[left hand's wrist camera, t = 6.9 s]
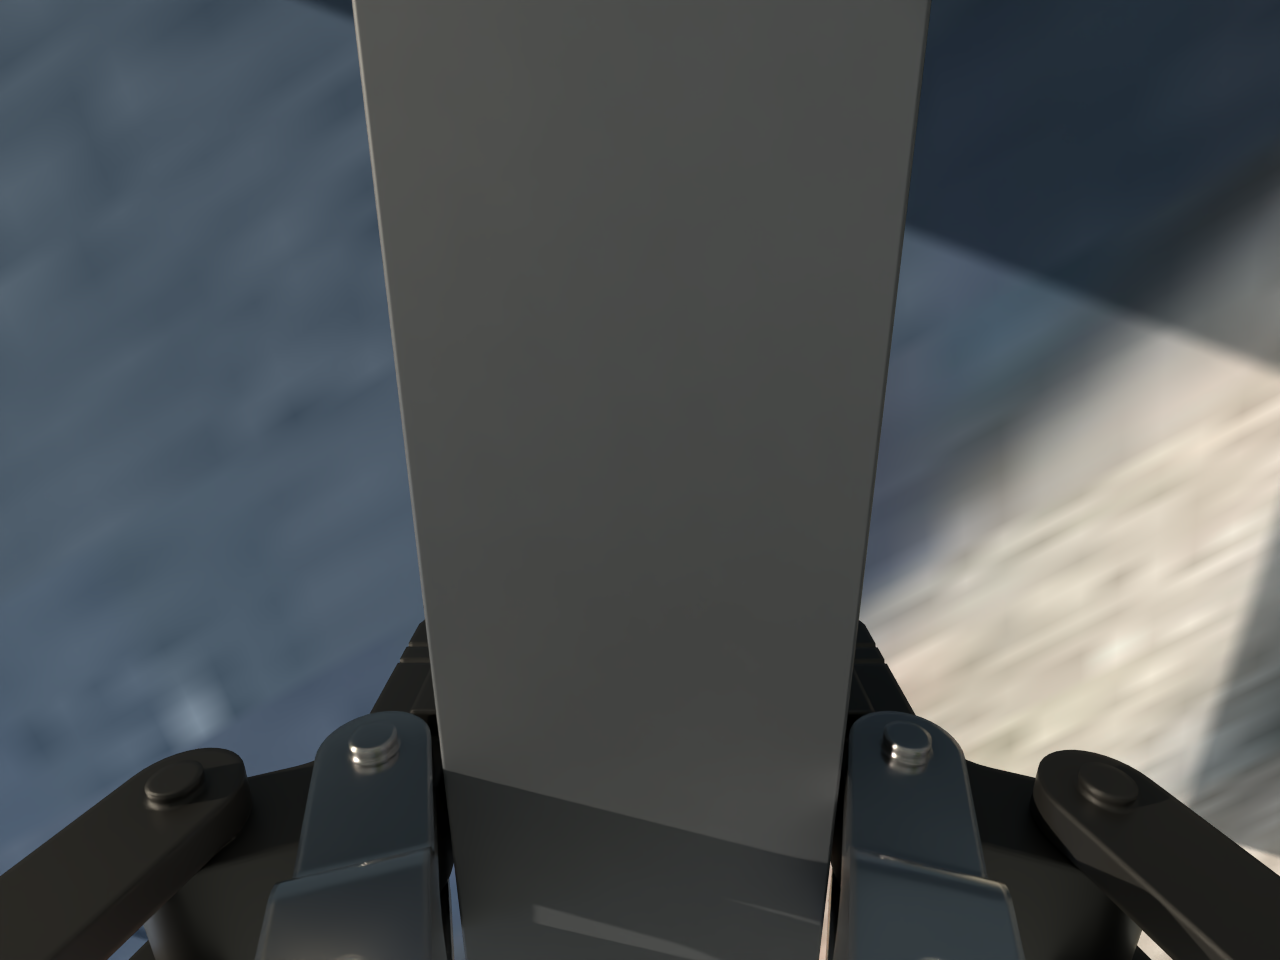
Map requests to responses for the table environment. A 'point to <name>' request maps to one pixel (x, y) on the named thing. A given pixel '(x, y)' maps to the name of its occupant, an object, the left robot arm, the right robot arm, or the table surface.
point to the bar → (641, 441)
